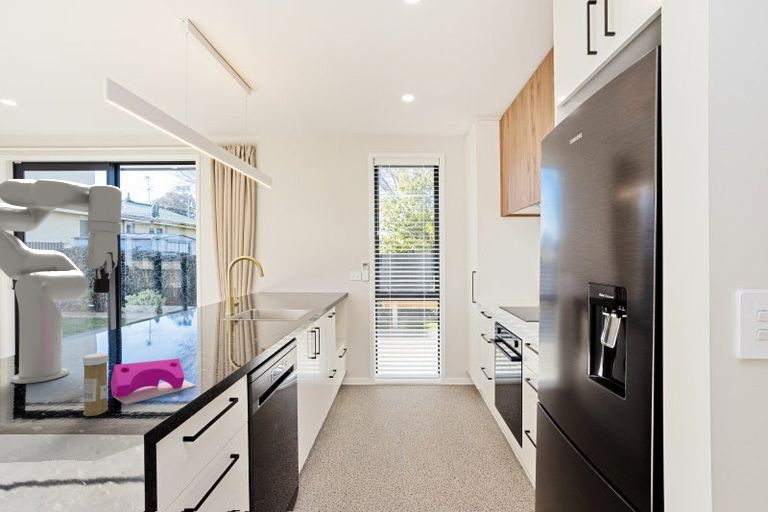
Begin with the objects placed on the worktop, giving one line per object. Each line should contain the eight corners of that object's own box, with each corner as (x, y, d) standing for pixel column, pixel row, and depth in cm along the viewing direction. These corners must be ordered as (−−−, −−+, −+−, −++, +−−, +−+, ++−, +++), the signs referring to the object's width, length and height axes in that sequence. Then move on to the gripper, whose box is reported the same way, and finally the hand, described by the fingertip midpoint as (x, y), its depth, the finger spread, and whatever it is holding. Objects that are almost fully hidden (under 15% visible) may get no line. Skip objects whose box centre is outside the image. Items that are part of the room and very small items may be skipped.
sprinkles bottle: (111, 411, 88) (112, 353, 88) (88, 418, 84) (89, 358, 84) (101, 407, 90) (101, 351, 90) (78, 414, 86) (79, 355, 86)
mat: (112, 396, 97) (112, 394, 97) (181, 379, 111) (181, 378, 111) (125, 404, 92) (125, 403, 92) (195, 386, 105) (195, 384, 105)
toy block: (110, 383, 98) (113, 405, 93) (114, 364, 96) (117, 385, 91) (174, 375, 109) (179, 394, 104) (178, 358, 107) (184, 377, 102)
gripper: (79, 227, 109) (76, 291, 109) (98, 227, 100) (95, 296, 100) (109, 229, 115) (106, 289, 115) (129, 229, 106) (127, 294, 106)
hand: (101, 292), depth 108 cm, fingers closed
